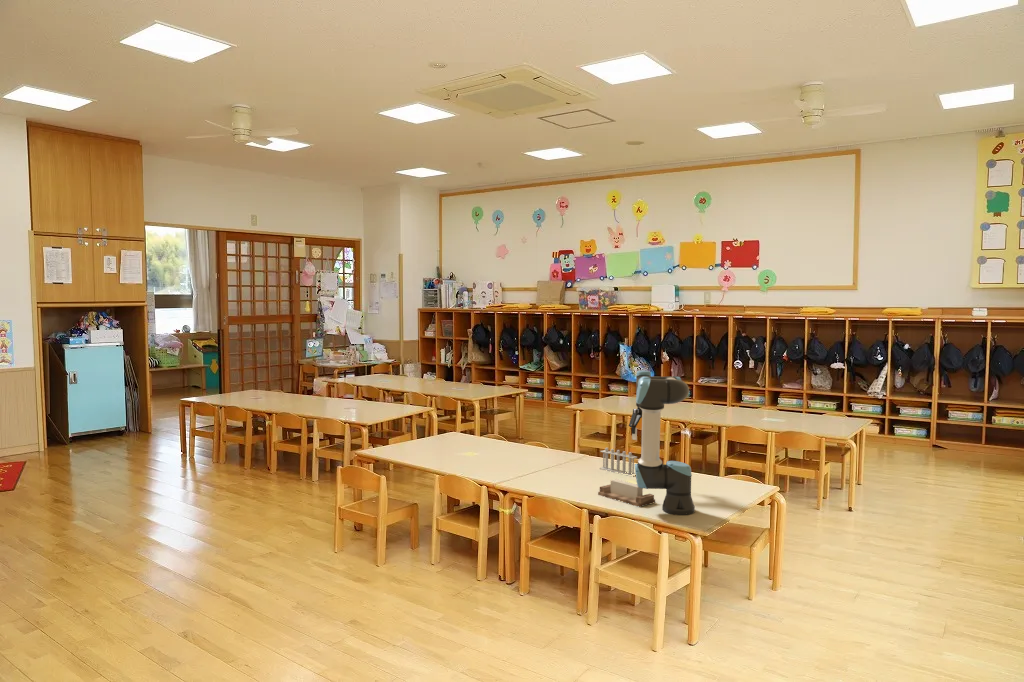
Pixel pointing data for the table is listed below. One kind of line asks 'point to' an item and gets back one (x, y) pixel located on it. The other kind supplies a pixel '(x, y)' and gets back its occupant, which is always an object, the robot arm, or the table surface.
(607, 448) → the test tube rack
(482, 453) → the table surface
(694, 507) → the robot arm
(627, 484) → the grey rectangular block
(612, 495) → the brown notched plank
